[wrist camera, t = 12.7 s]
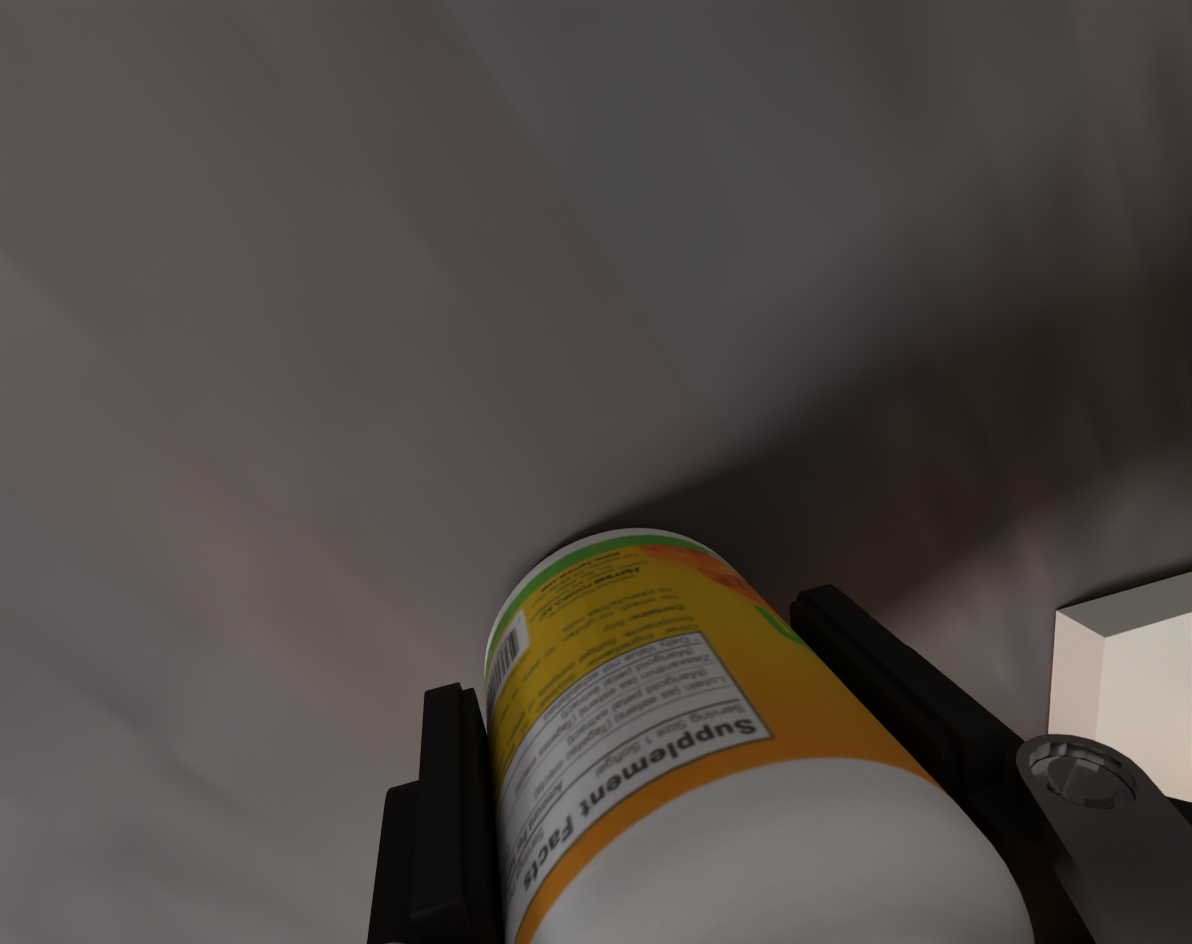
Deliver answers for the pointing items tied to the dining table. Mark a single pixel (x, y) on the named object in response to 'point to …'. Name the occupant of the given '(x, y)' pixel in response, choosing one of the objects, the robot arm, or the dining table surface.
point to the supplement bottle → (708, 772)
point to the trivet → (1130, 678)
